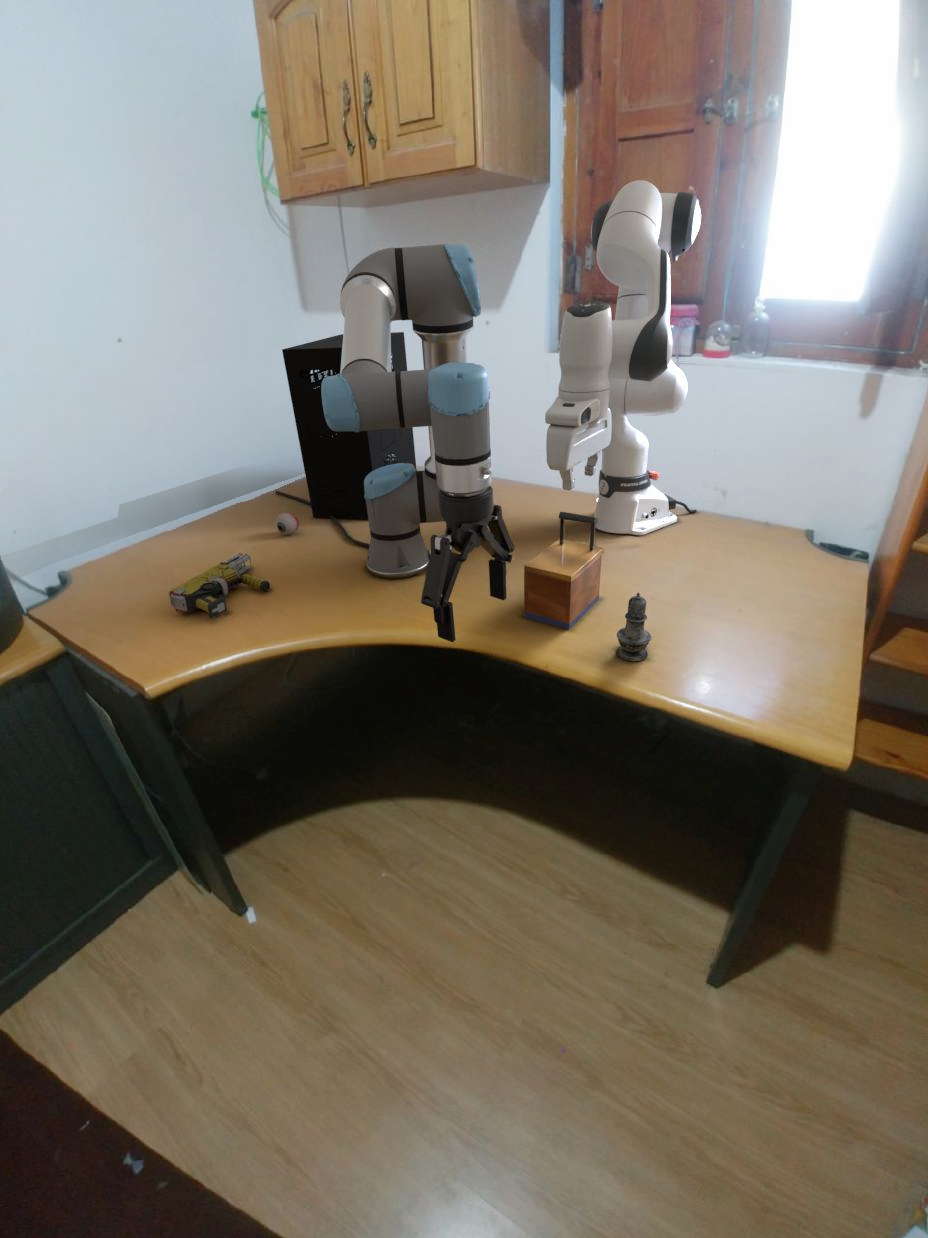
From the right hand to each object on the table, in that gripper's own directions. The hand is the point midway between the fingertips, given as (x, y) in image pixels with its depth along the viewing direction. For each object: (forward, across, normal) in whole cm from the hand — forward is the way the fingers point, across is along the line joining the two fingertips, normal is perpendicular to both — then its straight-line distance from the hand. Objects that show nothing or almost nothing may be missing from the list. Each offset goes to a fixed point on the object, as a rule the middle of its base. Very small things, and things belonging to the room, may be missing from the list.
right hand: (579, 481), depth 114 cm
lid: (+14, +5, 0) cm, 15 cm away
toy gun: (+25, +35, -66) cm, 79 cm away
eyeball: (+25, +5, -83) cm, 87 cm away
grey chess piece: (+24, +14, +18) cm, 34 cm away
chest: (+25, +6, 0) cm, 25 cm away
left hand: (+11, +36, 0) cm, 38 cm away
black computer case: (+25, -29, -84) cm, 92 cm away
